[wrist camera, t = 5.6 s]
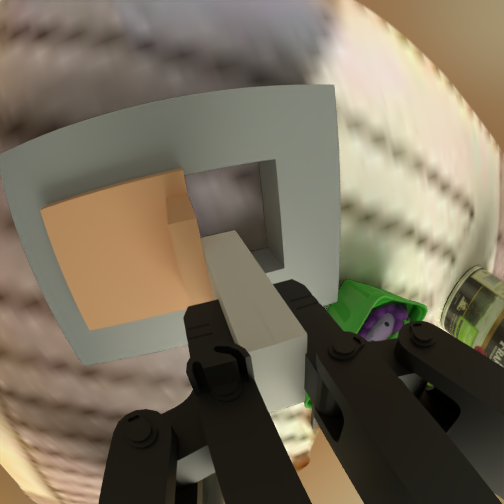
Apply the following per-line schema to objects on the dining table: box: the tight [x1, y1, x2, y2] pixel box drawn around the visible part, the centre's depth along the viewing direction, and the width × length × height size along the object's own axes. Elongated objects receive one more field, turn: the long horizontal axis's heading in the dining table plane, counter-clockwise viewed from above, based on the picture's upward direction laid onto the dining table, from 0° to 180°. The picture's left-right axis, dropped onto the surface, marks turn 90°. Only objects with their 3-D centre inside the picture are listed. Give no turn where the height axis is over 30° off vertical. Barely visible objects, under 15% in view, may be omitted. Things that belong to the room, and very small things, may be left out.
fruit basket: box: [304, 279, 433, 409], centre depth 21 cm, size 11×9×11 cm
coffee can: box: [441, 266, 504, 367], centre depth 27 cm, size 10×10×14 cm
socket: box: [0, 85, 340, 366], centre depth 16 cm, size 14×18×3 cm
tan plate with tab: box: [40, 168, 214, 330], centre depth 12 cm, size 7×7×4 cm
